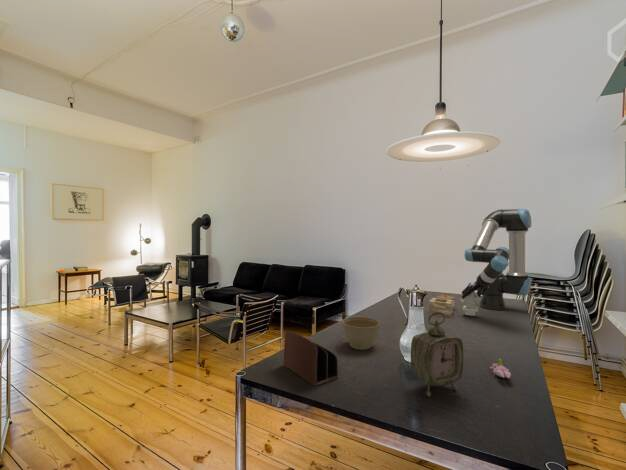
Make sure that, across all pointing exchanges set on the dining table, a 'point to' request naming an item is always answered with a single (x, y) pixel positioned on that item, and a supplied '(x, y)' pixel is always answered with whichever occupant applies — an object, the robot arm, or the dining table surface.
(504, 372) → the pink flower
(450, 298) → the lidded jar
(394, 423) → the dining table surface
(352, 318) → the planter bowl
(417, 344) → the tabletop clock
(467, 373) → the dining table surface
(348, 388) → the dining table surface
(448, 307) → the beige streaked bowl
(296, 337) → the letter holder
